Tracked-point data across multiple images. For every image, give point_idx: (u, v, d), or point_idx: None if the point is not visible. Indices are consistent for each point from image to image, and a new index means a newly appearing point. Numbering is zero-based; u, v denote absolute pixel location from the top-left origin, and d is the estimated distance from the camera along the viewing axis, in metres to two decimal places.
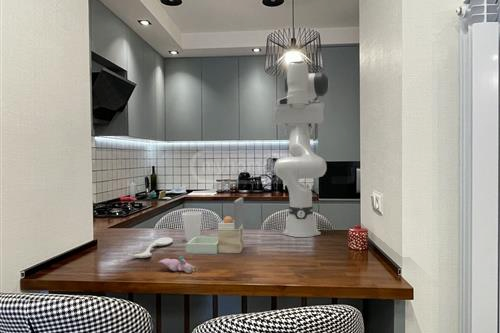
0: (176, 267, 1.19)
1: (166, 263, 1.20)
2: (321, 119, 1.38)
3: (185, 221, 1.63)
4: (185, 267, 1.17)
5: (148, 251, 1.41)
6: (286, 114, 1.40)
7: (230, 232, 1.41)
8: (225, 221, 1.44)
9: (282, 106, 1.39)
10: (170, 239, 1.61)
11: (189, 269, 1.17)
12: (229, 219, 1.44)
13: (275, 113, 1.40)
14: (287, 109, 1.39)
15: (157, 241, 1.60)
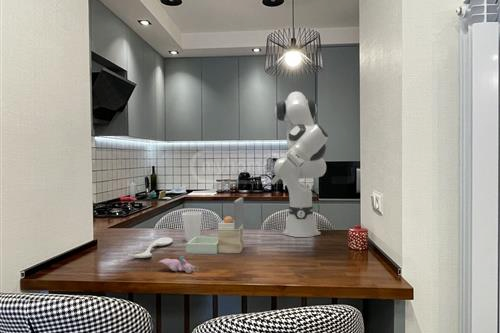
0: (176, 267, 1.19)
1: (166, 263, 1.20)
2: None
3: (185, 221, 1.63)
4: (186, 267, 1.17)
5: (148, 251, 1.40)
6: None
7: (230, 232, 1.41)
8: (225, 221, 1.44)
9: (296, 167, 1.35)
10: (170, 239, 1.61)
11: (190, 269, 1.17)
12: (229, 219, 1.44)
13: (290, 172, 1.32)
14: None
15: (157, 241, 1.59)
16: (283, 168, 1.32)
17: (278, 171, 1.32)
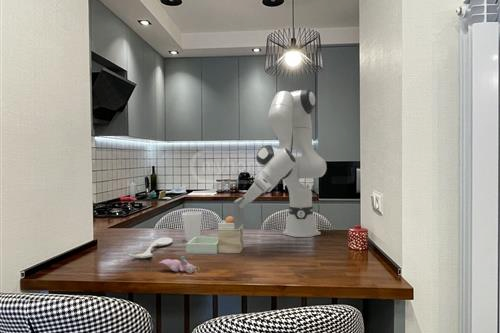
0: (177, 268, 1.18)
1: (167, 264, 1.19)
2: None
3: (185, 221, 1.63)
4: (187, 267, 1.17)
5: (149, 251, 1.40)
6: None
7: (230, 232, 1.41)
8: (227, 220, 1.44)
9: (263, 191, 1.37)
10: (170, 239, 1.60)
11: (191, 269, 1.16)
12: (232, 220, 1.44)
13: None
14: None
15: (157, 241, 1.59)
16: (250, 193, 1.34)
17: (245, 196, 1.34)
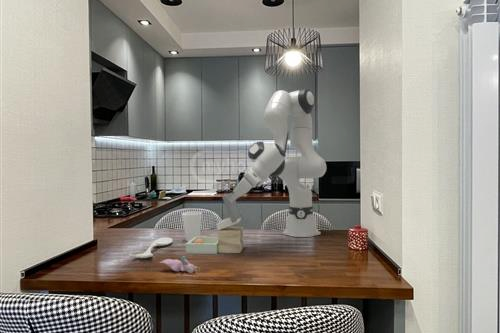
0: (178, 267, 1.18)
1: (168, 264, 1.19)
2: None
3: (185, 221, 1.63)
4: (188, 267, 1.17)
5: (149, 251, 1.40)
6: None
7: (230, 232, 1.41)
8: None
9: (253, 186, 1.37)
10: (170, 239, 1.60)
11: (192, 269, 1.16)
12: (197, 241, 1.47)
13: (246, 191, 1.35)
14: None
15: (157, 241, 1.59)
16: (239, 187, 1.34)
17: (235, 190, 1.35)
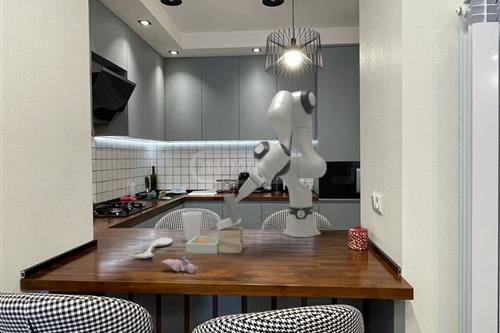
0: (179, 267, 1.18)
1: (169, 264, 1.19)
2: None
3: (185, 221, 1.63)
4: (188, 267, 1.17)
5: (149, 251, 1.40)
6: None
7: (230, 232, 1.41)
8: None
9: (258, 186, 1.37)
10: (169, 240, 1.60)
11: (192, 269, 1.16)
12: (201, 241, 1.46)
13: (252, 191, 1.35)
14: None
15: (157, 241, 1.59)
16: (245, 188, 1.35)
17: (240, 191, 1.35)
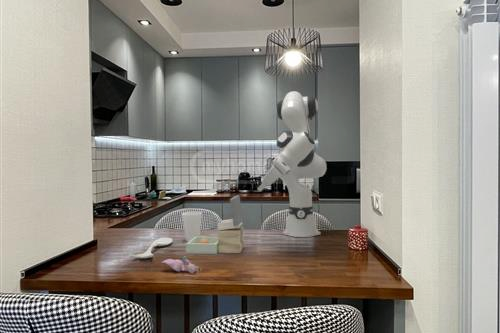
0: (179, 267, 1.18)
1: (169, 263, 1.19)
2: None
3: (185, 221, 1.63)
4: (189, 267, 1.17)
5: (149, 251, 1.40)
6: None
7: (230, 232, 1.41)
8: None
9: (282, 174, 1.36)
10: (169, 240, 1.60)
11: (193, 269, 1.16)
12: (205, 243, 1.46)
13: (276, 179, 1.33)
14: None
15: (157, 241, 1.59)
16: (269, 176, 1.33)
17: (264, 179, 1.33)
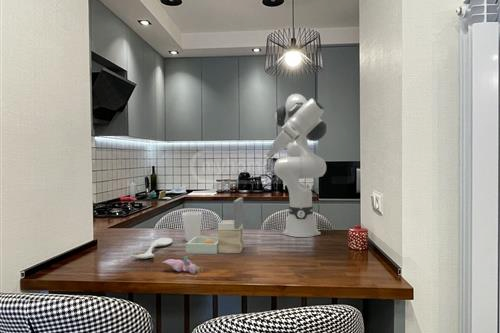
0: (181, 268, 1.18)
1: (170, 264, 1.19)
2: None
3: (185, 221, 1.63)
4: (190, 268, 1.17)
5: (150, 252, 1.40)
6: None
7: (230, 232, 1.41)
8: (207, 242, 1.46)
9: (292, 139, 1.36)
10: (169, 240, 1.60)
11: (194, 269, 1.16)
12: None
13: (286, 144, 1.33)
14: None
15: (156, 241, 1.59)
16: (279, 140, 1.33)
17: (274, 143, 1.33)
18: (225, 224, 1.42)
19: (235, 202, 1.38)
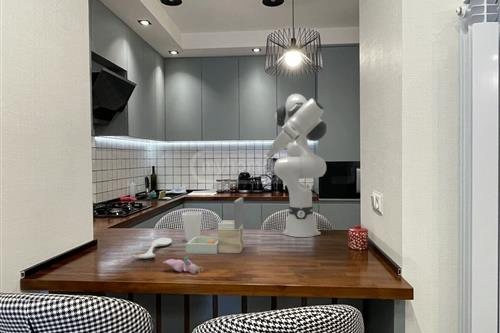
0: (181, 268, 1.18)
1: (171, 264, 1.19)
2: None
3: (185, 221, 1.63)
4: (190, 268, 1.17)
5: (151, 252, 1.40)
6: None
7: (230, 232, 1.41)
8: (210, 242, 1.45)
9: (292, 139, 1.36)
10: (169, 240, 1.60)
11: (194, 270, 1.16)
12: None
13: (286, 144, 1.33)
14: None
15: (156, 242, 1.58)
16: (279, 140, 1.33)
17: (274, 143, 1.33)
18: (225, 224, 1.42)
19: (235, 202, 1.38)
